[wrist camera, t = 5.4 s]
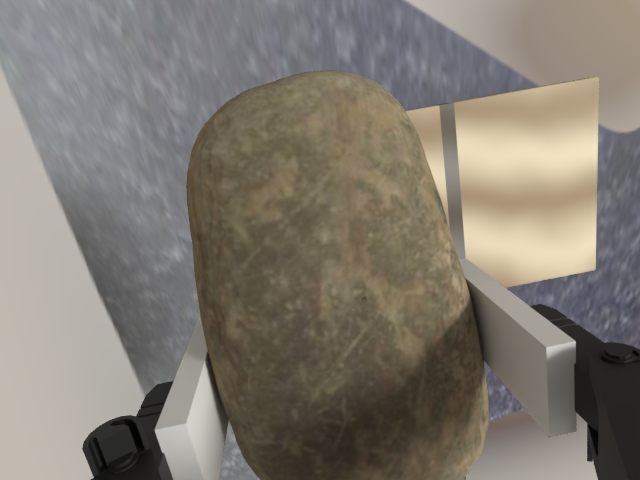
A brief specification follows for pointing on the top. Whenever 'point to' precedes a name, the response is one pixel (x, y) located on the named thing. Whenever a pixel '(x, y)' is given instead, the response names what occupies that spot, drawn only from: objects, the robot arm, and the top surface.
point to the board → (518, 178)
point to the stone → (333, 287)
